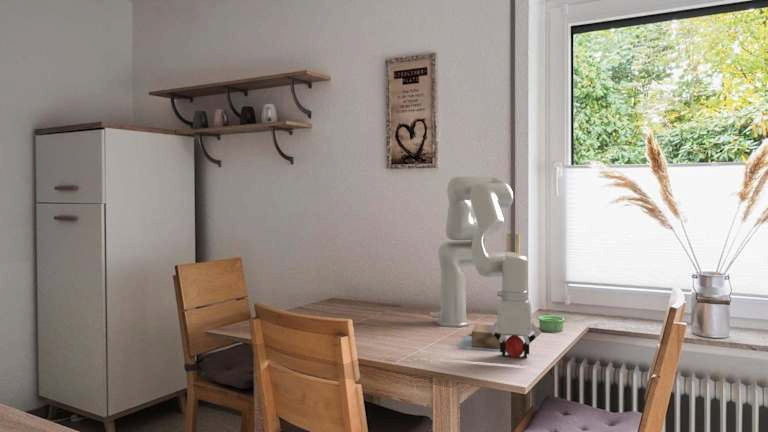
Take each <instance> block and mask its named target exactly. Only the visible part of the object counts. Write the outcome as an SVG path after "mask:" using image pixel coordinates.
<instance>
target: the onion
mask: <svg viewBox="0 0 768 432" xmlns="http://www.w3.org/2000/svg"><path fill="white" fill-rule="evenodd" d="M506 339H507V340H506V343H505V350H506V352H505V353H506V354H507V355H509V356H510V357H511V358H519V357H520V356H521V355H522V354H524V343H525V341H523V340H522V338H521V337H519V335H509V337H508V338H506Z"/></svg>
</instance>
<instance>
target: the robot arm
mask: <svg viewBox="0 0 768 432" xmlns="http://www.w3.org/2000/svg"><path fill="white" fill-rule="evenodd" d="M446 190H447V191H446V193H447V197H448V198H447V199H448V208H447V217H446V222H445V235H446V237H447V238H448V239H449V240H452V241H446V242H443V243H441V244H440V245H439V246H438V252H437V255H438V262H439V269H440V311H437V312H436V311H430V312H429V317H431V318H433V319H434V318H435V319H436V318H437V320H436V324H438V326H441V327H447V328H460V327H462V328H463V327H467V326H469V325H471V320H470V319H467V279H466V275H465V274H464V272H463V271H462V269H461V267H469V266H471V267H473V266H475V269H476V271H477V273H478V274H479V275H480V276H482V277H484V278H491V277H494V278H495V277H501V290H500V291H497V292H496V293H497V294H496V296H497V297H500V298H501V299H500V300H499V302H498V307H497V314H496V315H497V318H496V322H495V323H493V324H491V325H492V326H491V327H490V328H489V331H490V332H491V333H492V334H493V335H494V336H495V337H496V338H497V339H498V340H499V342H500V352H499V353H502V354H501V355H502V357H504V356H506V352H505V343H506V342H505V339H504V337H505V335H506V336H507V335H508V336H512V335H517V336H522V337H523V339H524V352H523V357H524V359H525V358H527V356H528V355H530V344H531V343H532V342H533V341H534V340H536V339H537V337H539V336H540V335H541V333H542V330H540V328H538V327H537V326H536V323H535V324H534V322H533V316H532V315H533V314H532V306H531V301H530V300H528V298H529V297H528V295H529V294H528V283H529V282H528V281H529V279H528V278H529V277H528V267H529V266H528V263H529V261H528V258H527V257H526V256H525V255H522V254H518V253H516V252H513V251H504V252H502V251H499V252H498V251H495V252H486V246H487V240H488V237H489V236H490V235H493V234H495V233H497V232H498V231H500V230H501V229H502V228H503V227H504V225H505V219H504V216H503V213H502V210H501V209H503V208H504V209H505V208H510V206H512V204H513V201H514V194H513V193H514V192H513V190H512V188H511V187H510V185H509V184H508V183H507V182H505V181H503V180H500V179H498V178H497V177H493V176H455V177H452V178H451V179H449V181H448V184H447V189H446ZM472 209H473V213H474V214H472ZM496 327H497V331H498V332H497V331H496V330H495V328H496ZM532 331H533V332H534V333H533V332H532ZM499 333H500V334H501V335H500V334H499Z"/></svg>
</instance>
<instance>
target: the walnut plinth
mask: <svg viewBox="0 0 768 432" xmlns="http://www.w3.org/2000/svg"><path fill="white" fill-rule="evenodd" d="M492 325H493V324H491V325H488V324H487V325H486V324H475V326H474V327H473V328H474V329H472V330H471V337H472V347H480V348H494V349H500V342H499V340H498V339H497V338H496V337H495V336H494V335H493V334H492V333H491V332H490V331H489V328H490V327H491V326H492ZM495 330H496V331H497V327H496V328H495ZM497 332H498V331H497ZM499 334H500V333H499ZM500 335H501V334H500ZM504 339H505V342H506V339H507V335H505V337H504Z"/></svg>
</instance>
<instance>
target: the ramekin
mask: <svg viewBox="0 0 768 432" xmlns="http://www.w3.org/2000/svg"><path fill="white" fill-rule="evenodd" d="M564 321H565V318H564V317H562V316H557V315H541V316H539V317H538V323H539V330H540V331H541V332H547V333H560V332H562V331H563V329H564V323H565V322H564Z"/></svg>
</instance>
